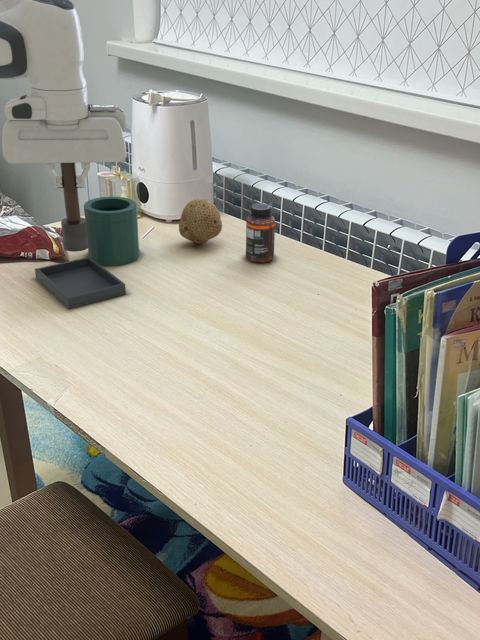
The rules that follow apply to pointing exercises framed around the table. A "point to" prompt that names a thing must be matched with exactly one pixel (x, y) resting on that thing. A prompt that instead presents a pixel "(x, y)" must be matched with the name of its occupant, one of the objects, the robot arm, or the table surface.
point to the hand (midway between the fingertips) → (70, 187)
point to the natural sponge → (200, 221)
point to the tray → (80, 282)
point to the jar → (112, 230)
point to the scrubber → (72, 212)
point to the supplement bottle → (260, 233)
